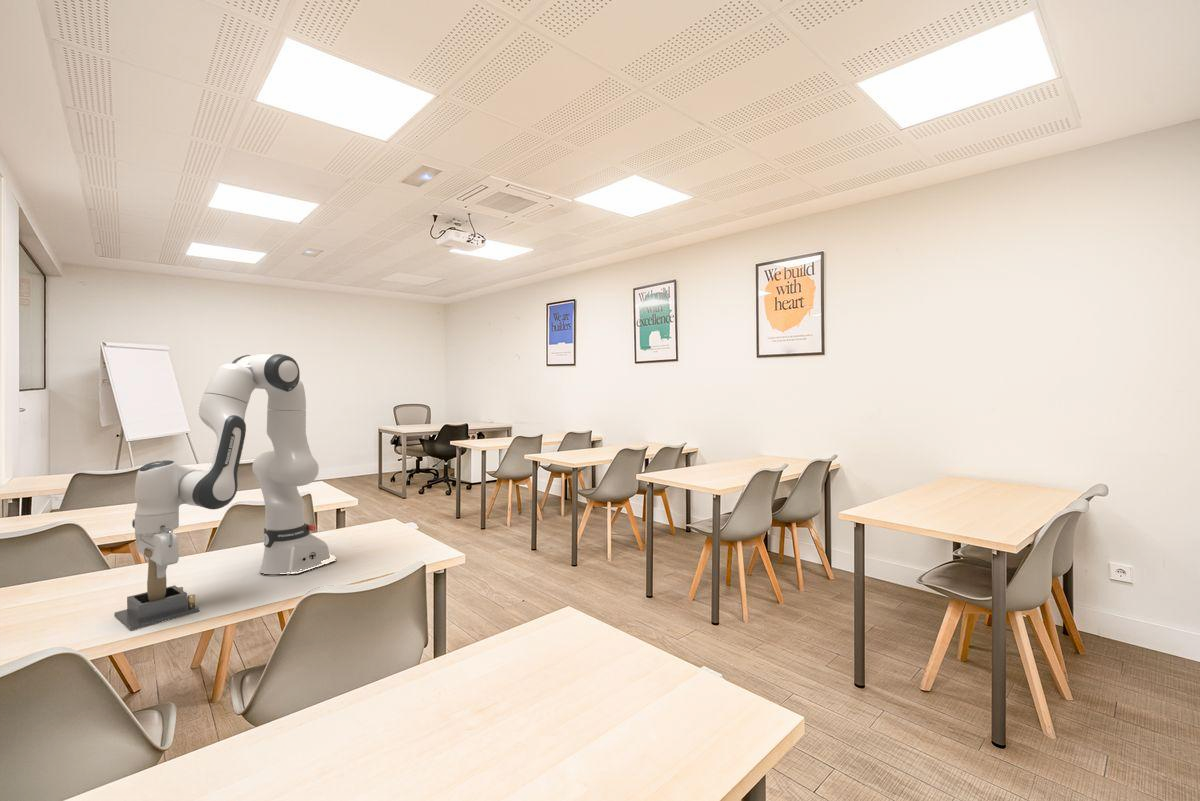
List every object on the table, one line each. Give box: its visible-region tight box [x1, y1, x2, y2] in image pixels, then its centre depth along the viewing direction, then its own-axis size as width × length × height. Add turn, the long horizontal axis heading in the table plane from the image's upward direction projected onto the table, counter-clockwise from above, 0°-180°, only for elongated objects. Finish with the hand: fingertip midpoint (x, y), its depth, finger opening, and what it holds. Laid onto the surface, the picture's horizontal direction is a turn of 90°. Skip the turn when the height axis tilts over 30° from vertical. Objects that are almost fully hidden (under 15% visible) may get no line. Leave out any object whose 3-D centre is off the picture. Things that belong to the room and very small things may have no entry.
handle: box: [143, 548, 167, 602], centre depth 136 cm, size 5×6×15 cm
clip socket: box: [114, 585, 200, 632], centre depth 137 cm, size 14×14×5 cm
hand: (157, 575), depth 136 cm, fingers closed on handle, 4 cm apart
